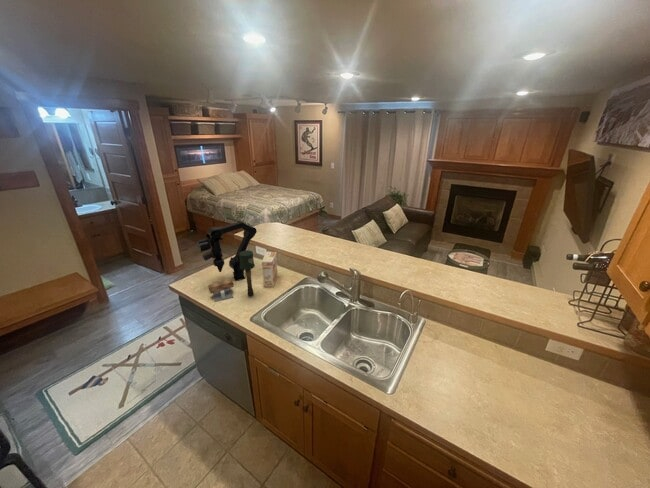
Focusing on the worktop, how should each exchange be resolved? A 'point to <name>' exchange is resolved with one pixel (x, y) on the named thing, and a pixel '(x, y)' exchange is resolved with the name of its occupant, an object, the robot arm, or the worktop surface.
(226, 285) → the plank
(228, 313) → the worktop surface
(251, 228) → the robot arm
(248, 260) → the potato masher grenade
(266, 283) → the coffeecake box
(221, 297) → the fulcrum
